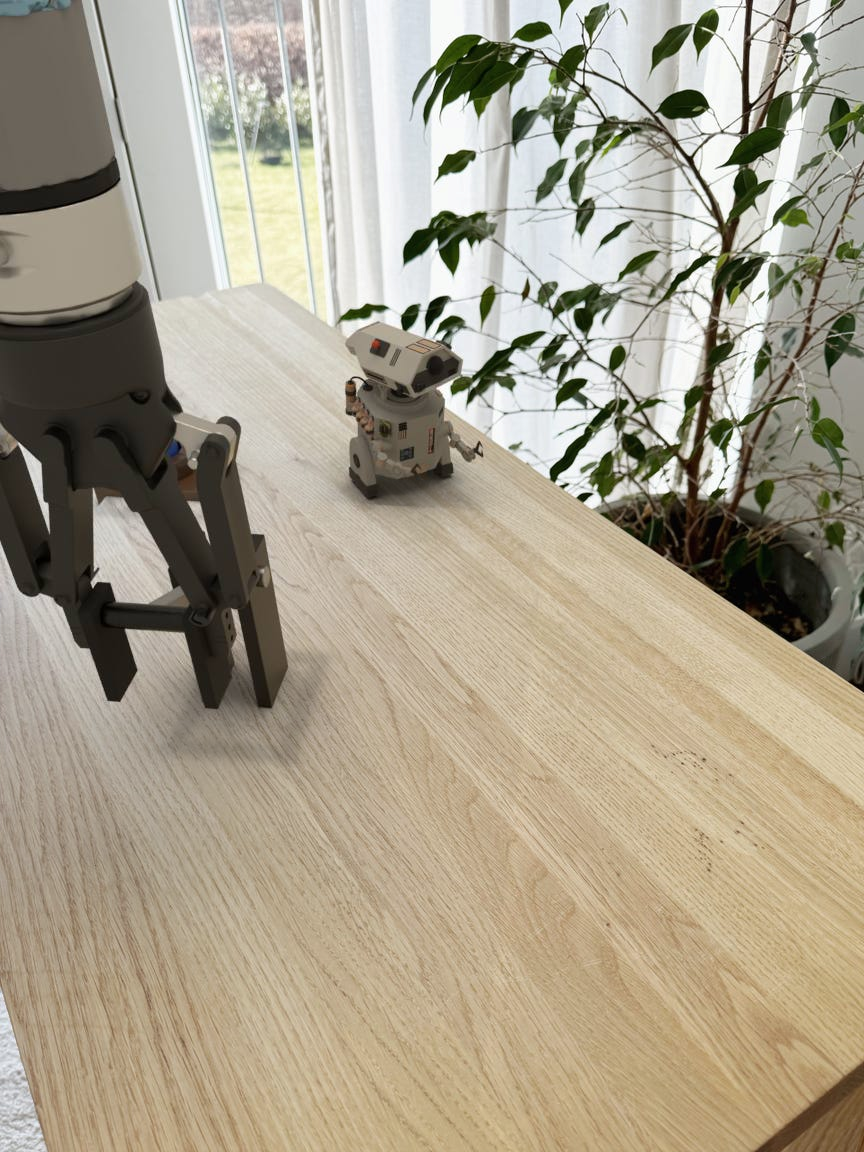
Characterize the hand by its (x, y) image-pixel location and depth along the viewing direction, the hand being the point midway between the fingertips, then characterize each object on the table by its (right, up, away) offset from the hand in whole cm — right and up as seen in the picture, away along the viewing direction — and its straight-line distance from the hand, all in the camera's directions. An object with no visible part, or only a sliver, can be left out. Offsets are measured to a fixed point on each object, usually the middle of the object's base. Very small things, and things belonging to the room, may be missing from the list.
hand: (170, 688), depth 58 cm
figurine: (+12, +17, +36) cm, 41 cm away
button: (-12, +20, +34) cm, 41 cm away
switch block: (-11, +17, +36) cm, 42 cm away
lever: (+1, +4, +3) cm, 5 cm away
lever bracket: (+1, -1, +14) cm, 14 cm away
